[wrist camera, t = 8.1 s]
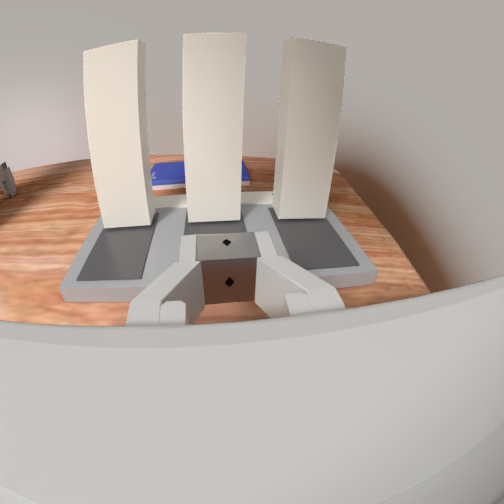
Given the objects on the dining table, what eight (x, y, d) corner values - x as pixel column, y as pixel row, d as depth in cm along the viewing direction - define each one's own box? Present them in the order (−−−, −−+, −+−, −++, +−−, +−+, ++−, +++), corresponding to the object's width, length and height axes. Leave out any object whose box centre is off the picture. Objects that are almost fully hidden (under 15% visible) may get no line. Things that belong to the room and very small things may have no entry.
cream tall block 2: (325, 218, 22) (346, 47, 14) (278, 219, 22) (292, 37, 14) (315, 205, 24) (332, 49, 16) (272, 206, 24) (282, 41, 16)
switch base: (373, 284, 18) (379, 267, 17) (65, 302, 15) (57, 285, 14) (314, 202, 28) (316, 190, 28) (112, 211, 26) (109, 198, 25)
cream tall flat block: (240, 220, 21) (246, 33, 13) (188, 222, 21) (183, 34, 13) (237, 206, 23) (242, 38, 15) (189, 208, 23) (186, 39, 15)
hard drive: (143, 182, 29) (250, 177, 31) (154, 162, 36) (241, 157, 38) (144, 195, 30) (249, 189, 32) (155, 172, 37) (241, 168, 39)
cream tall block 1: (150, 225, 20) (137, 39, 12) (104, 228, 20) (83, 51, 12) (155, 211, 22) (145, 43, 14) (112, 214, 22) (95, 53, 14)
